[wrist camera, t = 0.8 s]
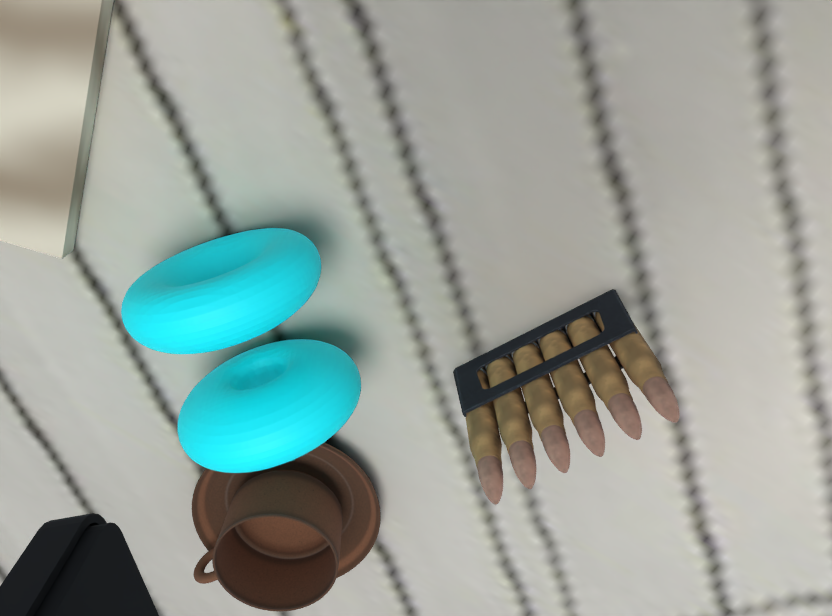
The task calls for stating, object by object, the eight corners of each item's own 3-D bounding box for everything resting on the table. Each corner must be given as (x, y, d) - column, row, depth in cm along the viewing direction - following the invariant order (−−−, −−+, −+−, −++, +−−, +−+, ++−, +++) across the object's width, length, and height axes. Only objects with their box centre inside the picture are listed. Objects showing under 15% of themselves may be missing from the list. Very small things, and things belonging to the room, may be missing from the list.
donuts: (320, 204, 39) (294, 270, 30) (371, 360, 43) (362, 459, 34) (151, 249, 40) (76, 325, 31) (216, 397, 44) (166, 504, 35)
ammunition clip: (466, 392, 44) (486, 525, 33) (452, 369, 43) (467, 497, 32) (626, 313, 42) (704, 427, 31) (614, 288, 41) (689, 395, 30)
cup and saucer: (298, 593, 51) (285, 668, 45) (162, 497, 47) (129, 566, 42) (418, 496, 48) (420, 564, 42) (282, 385, 44) (263, 444, 38)
